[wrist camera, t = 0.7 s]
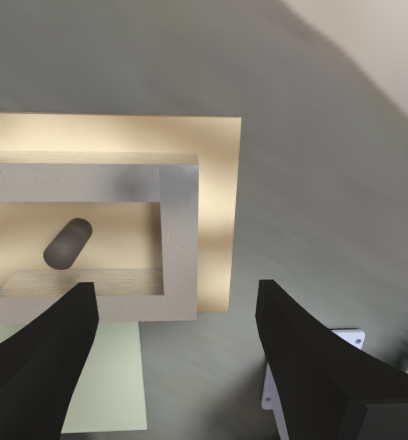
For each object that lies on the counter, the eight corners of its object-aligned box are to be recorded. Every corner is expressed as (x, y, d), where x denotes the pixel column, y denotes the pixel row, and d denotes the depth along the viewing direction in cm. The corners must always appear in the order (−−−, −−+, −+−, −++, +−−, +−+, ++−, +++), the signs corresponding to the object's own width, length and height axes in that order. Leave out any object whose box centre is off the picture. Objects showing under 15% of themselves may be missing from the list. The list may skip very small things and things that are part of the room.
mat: (147, 425, 29) (146, 429, 29) (0, 431, 29) (-3, 435, 28) (137, 313, 24) (137, 316, 23) (-47, 317, 23) (-50, 320, 23)
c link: (195, 290, 22) (196, 320, 19) (24, 293, 21) (0, 324, 18) (197, 152, 18) (199, 164, 15) (-14, 150, 17) (-53, 162, 14)
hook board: (225, 301, 24) (234, 348, 19) (18, 305, 23) (-21, 355, 18) (238, 116, 18) (254, 124, 14) (-38, 111, 17) (-113, 118, 13)
